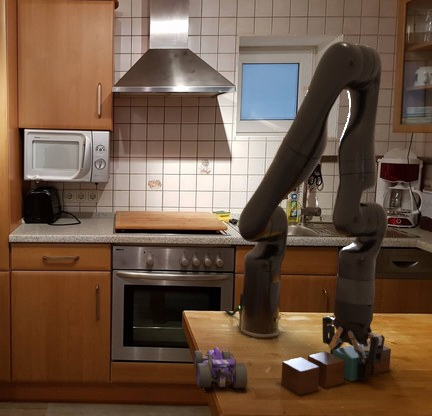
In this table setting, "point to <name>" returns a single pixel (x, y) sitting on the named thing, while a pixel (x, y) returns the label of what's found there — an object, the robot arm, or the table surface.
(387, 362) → the walnut block
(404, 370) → the table surface
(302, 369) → the walnut block
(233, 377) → the toy race car
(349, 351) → the teal block
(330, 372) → the walnut block
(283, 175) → the robot arm
